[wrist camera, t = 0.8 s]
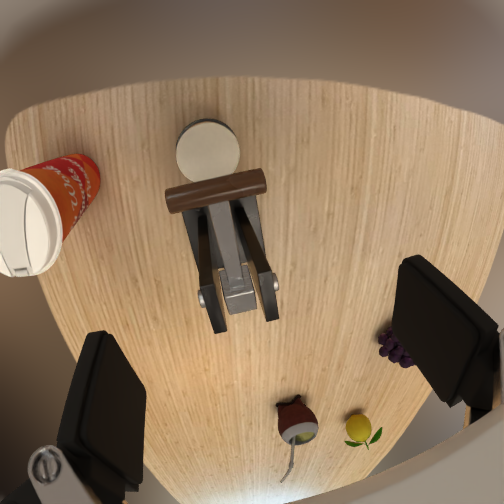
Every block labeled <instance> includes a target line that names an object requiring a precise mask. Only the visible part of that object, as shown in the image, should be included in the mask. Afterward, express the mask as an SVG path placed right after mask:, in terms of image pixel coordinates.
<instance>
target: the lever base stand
mask: <svg viewBox="0 0 504 504" xmlns="http://www.w3.org/2000/svg"><path fill="white" fill-rule="evenodd" d="M229 203H230V209H231V214H232V220H233V225H234V230H235V236H236V241H237V246H238V251H239V257H240V262H241V263H245V262H247V263H248V266H249V269H250V272H251V276H252V279H253V282H254V285H255V288H256V291H257V294H258V297H259V300H260V303H261V307H262V310H263V313H264V316H265V319H266V321H267V322H269V321H273V320H277V319H279V314H278V307H277V301H276V295H275V291H278V290H279V284H278V280H277V276H276V274H275V273H272V270H271V268H270V266H269V263H268V261H267V259H266V254H265V248H264V242H263V236H262V230H261V224H260V218H259V212H258V206H257V201H256V195H254V196H249V197H245V198H240V199H235V200H231V201H229ZM182 214H183V218H184V222H185V226H186V229H187V233H188V236H189V240H190V244H191V247H192V251H193V254H194V258H195V261H196V265H197V268H198V271H199V286H200V290H198V298H199V302H200V305H201V307H202V308H205V307H206V309H207V312H208V315H209V318H210V322H211V325H212V328H213V331H214V333H215V334H217V333H222V332H226V331H227V325H226V319H225V312H224V306H223V299H222V293H221V286H220V279H219V272H218V269H219V268H223V267H224V265H223V261H222V258H221V254H220V250H219V246H218V243H217V239H216V235H215V231H214V227H213V224H212V220H211V216H210V212H209V208H208V206H204V207H200V208H196V209H192V210H187V211H183V212H182Z"/></svg>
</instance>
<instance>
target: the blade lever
mask: <svg viewBox="0 0 504 504" xmlns="http://www.w3.org/2000/svg"><path fill="white" fill-rule="evenodd" d="M266 191H267V186H266V180H265V176H264V173H263V170H262V169H261V168H258V169H253V170H248V171H243V172H238V173H233V174H229V175H224V176H220V177H215V178H211V179H206V180H202V181H198V182H193V183H189V184H185V185H181V186H177V187H173V188H169V189H166V190H165V199H166V204H167V207H168V210H169V212H170V214H175V213H179V212H183V211H187V210H192V209H196V208H200V207H204V206H208V208H209V212H210V216H211V220H212V224H213V227H214V231H215V235H216V239H217V243H218V246H219V250H220V254H221V258H222V261H223V265H224V269H225V270H222V271H219V276H220V281H221V286H222V291H223V296H224V300H225V303H226V306H227V309H228V312H229V314H230V315H232V314H237V313H241V312H245V311H250V310H254V309H257V304H256V297H255V291H254V287H253V283H252V279H251V276H250V272H249V268H248V265H243V266H241V262H240V257H239V251H238V246H237V241H236V236H235V230H234V225H233V220H232V214H231V209H230V203H229V201H231V200H235V199H240V198H245V197H249V196H254V195H259V194H264V193H266Z"/></svg>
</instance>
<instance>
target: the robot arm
mask: <svg viewBox="0 0 504 504" xmlns="http://www.w3.org/2000/svg"><path fill="white" fill-rule="evenodd" d="M391 327H392V331H393V334H394V335H395V337H396V338H397V339H398V341H399V342H400V343H401V345H402V346H403V347H404V349H405V350H406V352H407V353H408V354H409V356H410V357H411V358H412V360H413V361H414V363H415V364H416V365H417V367H418V368H419V370H420V371H421V372H422V374H423V375H424V377H425V378H426V380H427V381H428V382H429V384H430V385H431V387H432V388H433V390H434V391H435V393H436V394H437V395H438V397H439V398H440V400H441V401H443V402H446V403H447V404H448V406H449V407H450V408H451V407H452V406H454V405H456V404H457V403H459V402H461V401H462V400H464V402H465V403H466V411H465V419H464V426H463V430H461V431H460V432H458V433H456V434H455V435H453V436H452V437H450V438H448V439H446V440H445V441H443V442H441V443H439V444H438V445H436V446H434V447H432V448H430V449H429V450H427V451H425V452H423V453H421V454H419V455H417V456H415V457H413V458H411V459H409V460H407V461H405V462H403V463H401V464H398V465H396V466H394V467H392V468H390V469H387V470H385V471H383V472H380V473H378V474H376V475H373V476H371V477H368V478H366V479H363V480H360V481H358V482H355V483H352V484H350V485H347V486H344V487H341V488H338V489H335V490H332V491H329V492H326V493H322V494H319V495H316V496H312V497H309V498H305V499H301V500H297V501H293V502H289V503H285V504H504V328H503V329H502V330H501V332H500V333H498V331H497V328H498V325H497V323H496V322H495V321H494V320H493V319H491V317H490V316H489V315H488V314H486V313H485V312H484V311H483V310H482V309H481V308H480V307H479V306H478V305H477V304H476V303H475V302H474V301H473V300H472V299H471V298H470V297H468V296H467V295H466V294H465V293H464V292H463V291H462V290H461V289H460V288H459V287H457V286H456V285H455V284H454V283H453V282H452V281H451V280H450V279H448V278H447V277H446V276H445V275H444V274H443V273H441V272H440V271H439V270H438V269H437V268H436V267H434V266H433V265H432V264H431V263H430V262H428V261H427V260H426V259H425V258H424V257H422V256H421V255H414V256H411V257H408V258H405V259H403V261H402V264H400V266H399V269H398V279H397V288H396V296H395V304H394V311H393V318H392V325H391ZM145 411H146V390H145V387H144V385H143V384H142V382H141V381H140V379H139V378H138V376H137V375H136V373H135V371H134V370H133V368H132V367H131V365H130V363H129V362H128V360H127V358H126V357H125V355H124V353H123V352H122V350H121V348H120V347H119V345H118V343H117V341H116V340H115V338H114V336H113V335H112V334H108V333H107V332H106V331H104V330H102V331H97V332H91V333H88V334H87V336H86V339H85V342H84V344H83V347H82V350H81V353H80V356H79V359H78V363H77V366H76V369H75V372H74V375H73V379H72V382H71V386H70V389H69V393H68V396H67V400H66V403H65V407H64V411H63V415H62V419H61V423H60V427H59V432H58V436H57V441H58V442H57V447H55V446H51V445H48V446H43V447H41V448H39V449H37V450H36V451H35V452H34V453H33V455H32V456H31V458H30V460H29V464H28V473H29V477H30V478H29V479H28V480H26V481H25V482H24V483H23V484H22V485H21V486H19V487H18V488H17V489H15V490H14V491H13V492H12V493H11V494H9V495H8V496H7V497H6V498H4V499H3V500H2V501H1V502H0V504H128V503H127V502H126V501H125V491H128V492H129V491H130V492H138V490H139V488H138V487H139V484H141V483H142V481H143V450H144V427H145Z"/></svg>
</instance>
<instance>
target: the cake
mask: <svg viewBox="0 0 504 504" xmlns="http://www.w3.org/2000/svg"><path fill="white" fill-rule="evenodd" d="M239 159H240V147H239V143H238V141H237V139H236V136H235V134H234V133H233V131H232V130H231V129H230V128H229V127H228V126H227V125H226V124H225V123H223V122H221V121H218V120H215V119H200V120H197V121H194V122H192V123H191V124H189V125H188V126H187V127H186V128H185V129H184V130H183V131H182V132H181V134H180V136H179V138H178V140H177V144H176V161H177V164H178V167H179V169H180V171H181V172H182V173H183V175H184V176H185V177H186V178H188V179H189V180H191V181H193V182H198V181H202V180H206V179H211V178H215V177H220V176H224V175H229V174H232V173H233V172H234V171H235V169H236V167H237V165H238V163H239Z"/></svg>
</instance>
